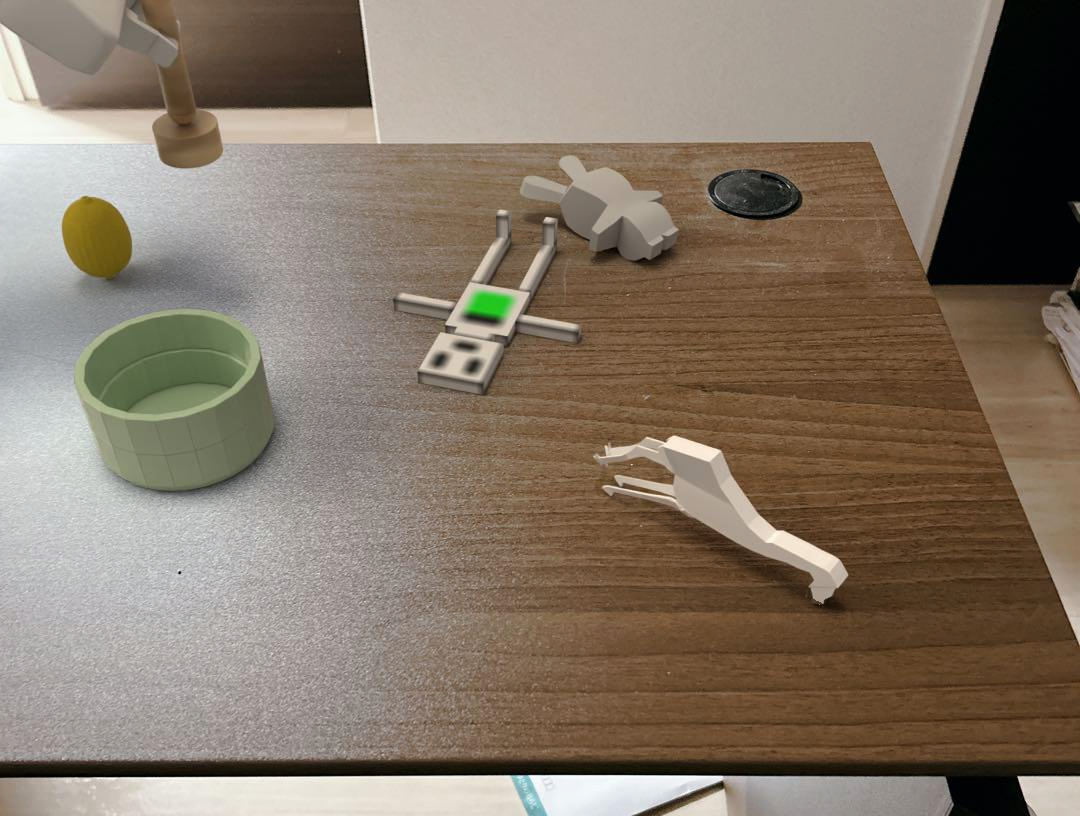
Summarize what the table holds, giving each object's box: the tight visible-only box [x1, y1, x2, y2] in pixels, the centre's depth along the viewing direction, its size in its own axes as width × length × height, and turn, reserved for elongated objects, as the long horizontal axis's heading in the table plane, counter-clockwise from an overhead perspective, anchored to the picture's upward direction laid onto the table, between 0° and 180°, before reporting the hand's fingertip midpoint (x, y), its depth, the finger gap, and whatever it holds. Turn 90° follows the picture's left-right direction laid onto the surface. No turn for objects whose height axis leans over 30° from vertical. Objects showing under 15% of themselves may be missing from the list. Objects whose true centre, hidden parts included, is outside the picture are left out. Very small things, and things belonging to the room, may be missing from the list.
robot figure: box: [392, 209, 583, 396], centre depth 97 cm, size 16×3×22 cm
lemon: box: [61, 195, 133, 281], centre depth 98 cm, size 6×6×8 cm
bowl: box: [73, 308, 275, 492], centre depth 84 cm, size 13×13×7 cm
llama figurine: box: [592, 435, 849, 605], centre depth 77 cm, size 2×11×18 cm
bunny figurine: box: [518, 154, 680, 261], centre depth 105 cm, size 10×5×15 cm
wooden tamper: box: [140, 0, 224, 170], centre depth 84 cm, size 5×5×16 cm
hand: (175, 47), depth 84 cm, fingers closed on wooden tamper, 2 cm apart
